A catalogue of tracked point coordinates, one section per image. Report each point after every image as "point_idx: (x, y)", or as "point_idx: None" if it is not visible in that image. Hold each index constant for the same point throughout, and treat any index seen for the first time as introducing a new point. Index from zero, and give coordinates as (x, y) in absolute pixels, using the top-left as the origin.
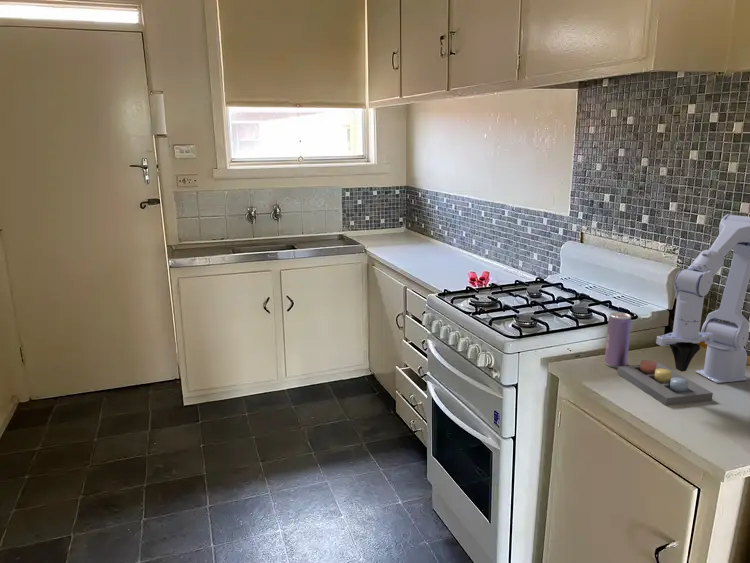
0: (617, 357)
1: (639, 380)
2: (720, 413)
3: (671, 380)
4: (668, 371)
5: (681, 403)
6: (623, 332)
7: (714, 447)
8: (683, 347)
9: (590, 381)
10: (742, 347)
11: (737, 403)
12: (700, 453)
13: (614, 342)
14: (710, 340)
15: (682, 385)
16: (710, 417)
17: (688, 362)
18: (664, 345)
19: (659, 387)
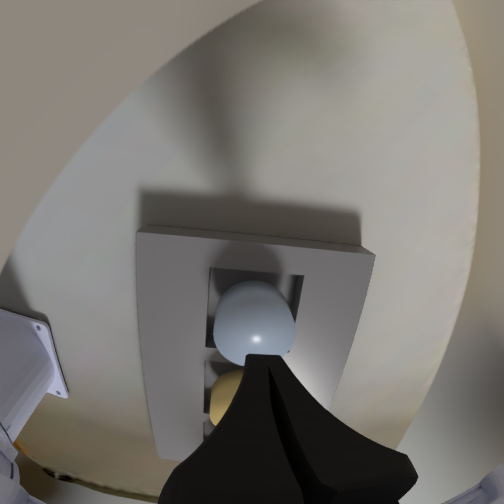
0: None
1: (331, 398)
2: (210, 118)
3: (290, 346)
4: (222, 411)
5: (294, 239)
6: None
7: (411, 5)
8: (387, 494)
9: (399, 418)
10: None
11: (78, 175)
12: (453, 18)
13: None
14: (5, 487)
15: (272, 298)
16: (280, 106)
17: (254, 388)
18: (494, 471)
19: (317, 342)
